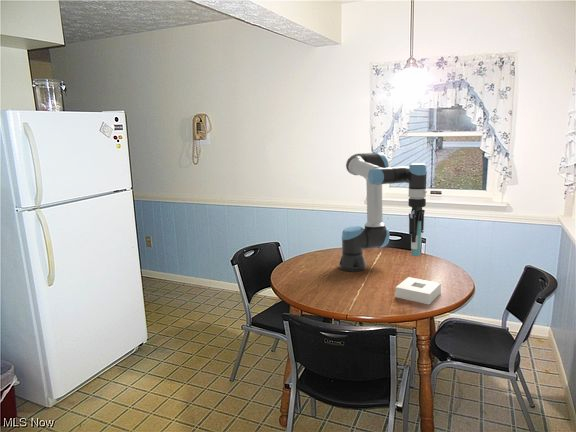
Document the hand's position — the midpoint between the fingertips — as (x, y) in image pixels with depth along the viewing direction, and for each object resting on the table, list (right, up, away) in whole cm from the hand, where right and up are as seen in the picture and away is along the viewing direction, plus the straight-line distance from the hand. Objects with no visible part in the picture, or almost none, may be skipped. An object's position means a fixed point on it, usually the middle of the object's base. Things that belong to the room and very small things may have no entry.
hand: (416, 247), depth 197 cm
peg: (0, -4, +1) cm, 4 cm away
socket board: (+2, -23, +4) cm, 23 cm away
